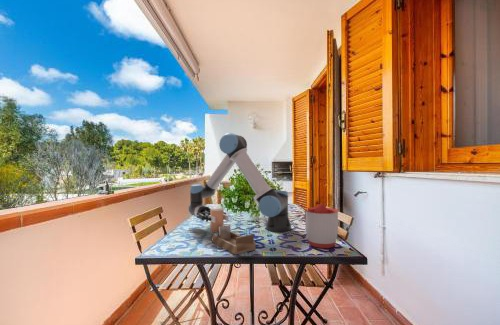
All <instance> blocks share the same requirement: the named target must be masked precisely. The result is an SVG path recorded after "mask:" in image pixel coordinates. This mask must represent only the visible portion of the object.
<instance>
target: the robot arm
mask: <svg viewBox="0 0 500 325" xmlns="http://www.w3.org/2000/svg"><path fill="white" fill-rule="evenodd" d="M218 144H219V149H220V151H221V152H222V153H224V154H226V155H225V156H224V158H223V159H221V162H220V163H219V165H218V166H217V167H216V169H215V170H214V172H213V173H212V174H211V176H210V177H209V178H208V179H207V181H206V183H205V184H204V185H202V184H191V185H190V191H189V192H190V193H189V196H190V203H189V205H188V208H187V210H188V213H189V214H191V215H192V216H194V217H196V218H198V219H199V220H201V221H203V222H204V221H205V222H207V223H208V222H210V221H211V222H214V223H215V217H213V216H211V215H210V210H211V207H209V206H206V205H203V204H204V203H203V202H204V200H203V199H206V198H210V197H213V196H214V195H215V194H216V189H217V188H218V187H219V185H221V183H222V181H223V180H224V179H225V177H226V176H227V174H228V173H229V171H230V170H231V169H232V168H233V166H234V165H235V164H236V166H237V168H238V169H239V171H240V172H241V173H242V175H243V177H244V178H245V179H246V181H247V183H248V185H249V186H250V188H251V189H252V191H253V192H254V193H255V195H256V196H255V200H256V201H257V204H258V210H259V211H260V213H261V214H262V215H263V216H265V217H267V220H266V224H265V229H266V230H267V231H270V232H280V233H281V232H288V231H291V230H292V223H291V221H290V217H289V194H288V191H286V190H275V189H274V187H271V186H269V184H268V183H267V181H266V180H265V178H264V176H263V175H262V174H261V172H260V170H258V168H257V166H256V165H255V163H254V162H253V161H252V159H251V158H250V156H249V154H248V153H247V152H248V142H247V140H246V138H245V137H244V136H242V135H239V134H235V133H232V132H231V133H224V135H223V136H221V138H220V140H219V143H218ZM229 218H230V217H229V215H228V214H227V212H224V221H226V222H228V221H229Z"/></svg>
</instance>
